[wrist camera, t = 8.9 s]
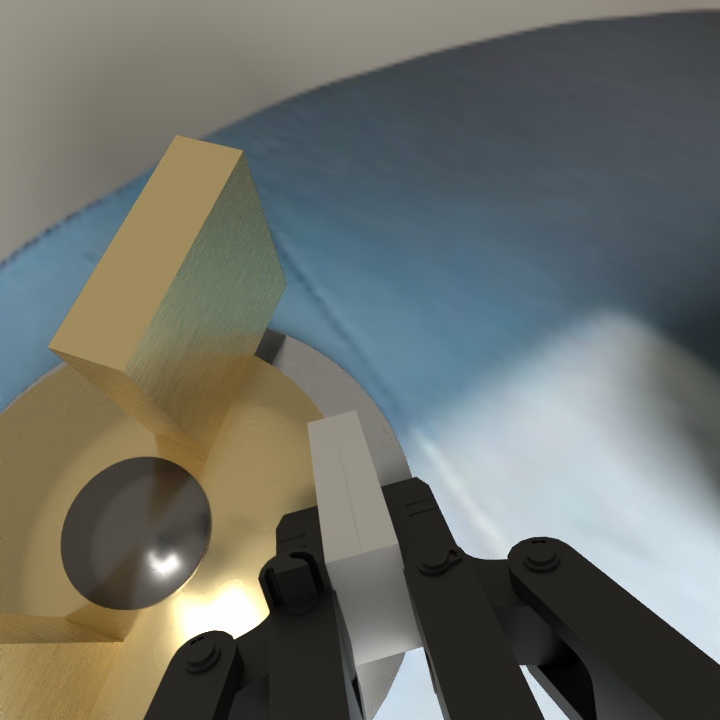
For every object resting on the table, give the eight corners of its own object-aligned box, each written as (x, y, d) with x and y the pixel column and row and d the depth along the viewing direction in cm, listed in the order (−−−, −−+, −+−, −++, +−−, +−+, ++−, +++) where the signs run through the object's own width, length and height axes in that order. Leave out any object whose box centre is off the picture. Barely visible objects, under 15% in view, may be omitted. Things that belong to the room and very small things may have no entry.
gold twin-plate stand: (-76, 429, 27) (-330, 319, 18) (283, 284, 29) (227, 116, 20) (-13, 918, 20) (-389, 1173, 10) (462, 679, 22) (508, 712, 12)
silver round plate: (151, 269, 33) (140, 251, 31) (507, 467, 27) (514, 457, 26) (-163, 632, 26) (-198, 631, 24) (225, 996, 20) (211, 1024, 19)
